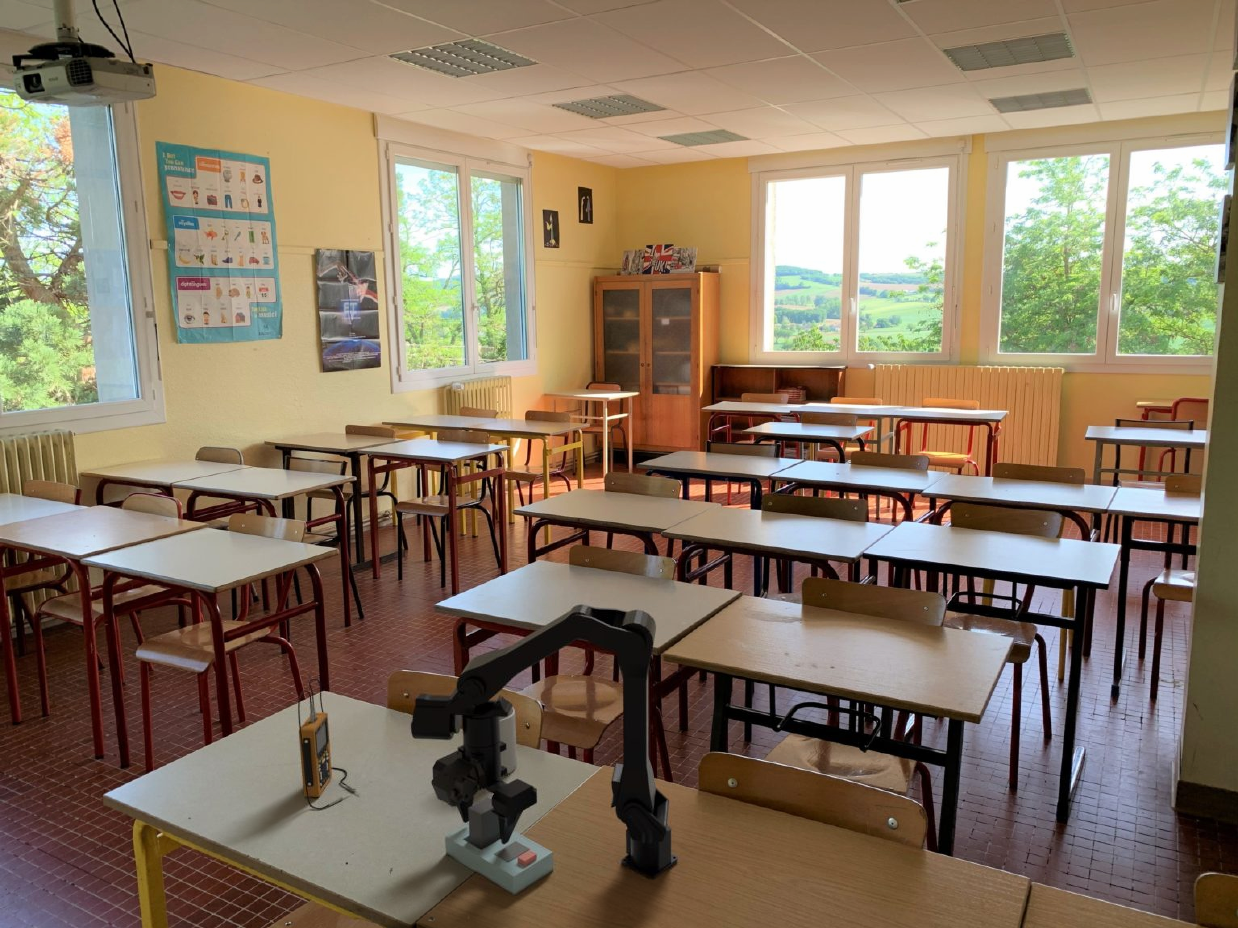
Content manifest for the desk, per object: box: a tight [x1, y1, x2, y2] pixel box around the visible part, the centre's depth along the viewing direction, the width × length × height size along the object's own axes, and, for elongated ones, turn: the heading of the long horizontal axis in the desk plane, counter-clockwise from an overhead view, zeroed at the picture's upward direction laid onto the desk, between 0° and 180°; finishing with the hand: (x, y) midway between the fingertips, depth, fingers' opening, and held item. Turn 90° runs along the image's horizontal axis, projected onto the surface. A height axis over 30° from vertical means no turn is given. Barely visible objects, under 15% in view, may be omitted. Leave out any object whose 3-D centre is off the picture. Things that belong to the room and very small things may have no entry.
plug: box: [468, 797, 501, 850], centre depth 143 cm, size 4×3×8 cm
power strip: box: [444, 823, 554, 896], centre depth 141 cm, size 16×8×4 cm, turn 49°
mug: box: [500, 706, 518, 776], centre depth 172 cm, size 12×8×11 cm
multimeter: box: [297, 678, 362, 810], centre depth 162 cm, size 15×10×20 cm
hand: (485, 832), depth 143 cm, fingers open, 9 cm apart
